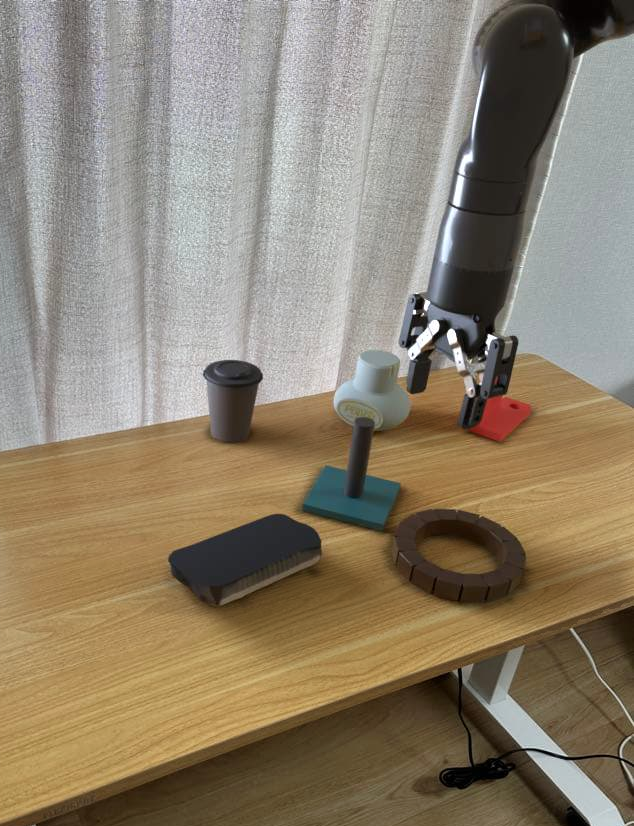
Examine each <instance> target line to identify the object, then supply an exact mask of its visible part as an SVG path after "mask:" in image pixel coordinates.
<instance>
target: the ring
mask: <svg viewBox="0 0 634 826" xmlns="http://www.w3.org/2000/svg"><path fill="white" fill-rule="evenodd" d="M436 535H454V536H458V537H460V538H461V537H462V538H466V539H469V540H472V541H474V542H477V543H479V544H480V545H483V546H485V547H486V548H487V549H488V550H489V551H490V552H491V553H492V554H493V555H494V556H495V557H496V558H497V560H498V562H499V564H500V565H499V566H497V568H495V569H493V570H490V571H486V572H482V573H461V572H457V571H454V570H450V569H447V568H444V567H441V566H440V565H438V564H436V563H433V562H432V561H430V560H429V559H427V558H426V557H425V556H424V555H423V554H422V553H421V552H420V551H419V550H418V548H417V545H416V544H417V543H418V542H420V541H421V540H422V539H423V538H426V537H431V536H436ZM390 554H391V557H392V560H393V564H394V566H395V567H396V569H397V570H398V571H399V572H400V573H401V575H402V576H403V577H404V578H405V579H406V580H407V581H408V582H410V583H411V584H412V585H414V586H416V587H417V588H419V589H421V590H422V591H424V592H426V593H429V594H432V595H433V596H436V597H438V598H439V597H440V598H443V599H446V600H451V601H454V602H458V601H459V602H460V603H484V602H485V603H488V602H491V601H492V602H493V601H495V600H498V599H502V598H505V597H506V596H509V594H511V593H512V592H513V591H514V590H515V589H516V588H518V586H519V585H520V583H521V580H522V579H523V575H524V572H525V568H526V563H527V553H526V551H525V549H524V547H523V545H522V543H521V541H520V540H519V538H518V537H517V536H516V535H515V534H513V532H511V531H510V530H509V529H507V527H505V526H504V525H503V526H502V524H500V523H498V522H496V521H494V520H492V519H490V518H487V517H485V516H483V515H481V514H479V513H475V512H470V511H466V510H462V509H455V508H434V509H433V508H429V509H425V510H421V511H416V512H413V513H411V514H410V515H408V516H407V517H405V518H404V519H403V520H401V521H400V522H399V523H398V524H397V527H396V530H395V533H394V534H393V540H392V545H391V547H390Z"/></svg>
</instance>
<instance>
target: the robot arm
mask: <svg viewBox="0 0 634 826" xmlns="http://www.w3.org/2000/svg"><path fill="white" fill-rule="evenodd" d="M633 34H634V0H507V1H506V2H504V3H503V4H502V5H500V6H499V7H498V8H496V9H495V10H494V11H493V12H492V13H491V14H490V15H488V16H487V18H486V19H485V20H484V22H483V23H482V24H481V26H480V27H479V29H478V31H477V33H476V36H475V38H474V41H473V44H472V49H471V66H472V70H473V73H474V76H475V77H476V80H477V82H478V89H477V94H476V100H475V104H474V107H473V113H472V118H471V123H470V126H469V127H470V128H469V131H468V133H467V135H466V136H465V137H464V138H463V139H462V142H461V143H460V145H459V148H458V151H457V153H456V158H455V162H454V167H453V171H452V176H451V181H450V186H449V190H448V196H447V201H446V206H445V208H444V211H443V215H442V217H441V219H440V220H441V221H440V224H439V228H438V233H437V238H436V243H435V248H434V252H433V253H434V254H433V258H432V263H431V268H430V273H429V278H428V283H427V289H426V291H424V292H417V293H412V294H410V295H408V298H407V303H406V306H405V311H404V315H403V320H402V323H401V324H402V325H401V329H400V333H399V337H398V346H399V348H401V349H405V350H406V351H407V358H408V359H409V364H408V370H407V375H406V388H405V389H406V390H405V391H406V392H407V393H409V394H411V395H416V394H421V393H424V392H425V391H426V389H427V386H428V381H429V376H430V371H431V366H432V362H433V360H432V359H431V358H430V357H432V356H433V355H435V353H436V352H437V354H441V355H444V356H446V357H447V358H448V359H449V360H450V361H452V362H453V363H455V366H456V371H457V374H458V375H459V376H461V377H462V379H463V383H464V388H465V392H466V393H465V394H464V395H463V399H462V403H461V408H460V412H459V416H458V419H457V426H458V427H459V428H460V429H462V430H467V429H471V428H472V427H475V426H476V425H477V424H479V423H480V422H481V421H482V417H483V413H484V409H485V406H486V402H487V399H489V398H493V397H498V396H502V395H503V396H505V395H507V394H508V391H509V387H510V383H511V378H512V373H513V369H514V365H515V360H516V357H517V351H518V347H519V338H518V337H517V335H508V336H504V335H502V334H500V333H498V332H496V318H497V317H498V315H499V314H500V312H501V311H502V310H503V308H504V307H505V305H506V300H507V296H508V293H509V289H510V285H511V281H512V277H513V273H514V269H515V266H516V262H517V258H518V254H519V250H520V246H521V242H522V238H523V233H524V223H525V216H526V211H527V208H528V204H529V199H530V196H531V191H532V187H533V184H534V179H535V176H536V171H537V167H538V160H539V156H540V153H541V151H542V149H543V147H544V145H545V143H546V141H547V139H548V136H549V134H550V131H551V128H552V126H553V123H554V122H555V118H556V116H557V114H558V111H559V109H560V106H561V104H562V101H563V98H564V95H565V92H566V89H567V86H568V84H569V80H570V75H571V73H572V72H571V71H572V66H573V62H574V60H575V59H576V58H578V57H580V56H581V55H583V54H584V53H586V52H588V51H590V50H592V49H593V48H595V47H597V46H599V45H601V44H603V43H605V42H609V41H614V40H619V39H623V38H627V37H629V36H631V35H633ZM413 330H414V332H413ZM412 332H413V334H412ZM476 357H477V363H470V362H469V361H472V360H473V359H476ZM476 374H477V377H478V381H479V383H477V378H476ZM497 376H498V378H497V383H495V380H496V377H497ZM503 396H502V397H503Z"/></svg>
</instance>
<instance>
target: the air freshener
mask: <svg viewBox="0 0 634 826" xmlns="http://www.w3.org/2000/svg"><path fill="white" fill-rule="evenodd" d="M400 368H401V360H400V358H399V357H398V356H397V355H396V354H395V353H392V352H390V351H387V350H382V349H368V350H365V351H362V352H361V353H360V354H358V356H357V361H356V366H355V373H354V378H351V379H348V380H347V381H345V382H344V383H342V384H341V385H340V386H339V387H338V388H337V390H336V391H335V393H334V396H333V407H334V410H335V412H336V414H337V416H339V418H340V419H341V420H342V421H343V422H344V423H346V424H347V425H349V426H352V428H353V427H354V420H355V419H356V418H359V417H367V418H370V419H372V420H374V422H375V426H374V432H382V431H387V430H391V429H393V428H396V427H397V426H399V425H401V424H402V423H403V422H405V420H406V419H407V418H408V416H409V414H410V413H411V412H410V411H411V408H412V407H411V404H412V403H411V399H410V397H409V395H408V392H407V391H406V390H405V389H404V388H403V387H402V386H400V385H399V384H398V378H399V372H400Z"/></svg>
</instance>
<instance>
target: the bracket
mask: <svg viewBox="0 0 634 826" xmlns="http://www.w3.org/2000/svg"><path fill="white" fill-rule="evenodd" d="M497 378H498V376H497V377H496V380H495V383H497ZM532 408H533V407H532V406H531V405H530V404H529V403H526V402H523V401H520V400H517V399H513V398H511V397H508V396H505V397H504V395H502V396H498V397H493V398H489V399H487V402H486V406H485V409H484V413H483V417H482V421H481V422H480V423H479V424H477V425H476V426H475V427H472V428H470V429H469V432H471V433H473V434H477V435H478V436H479V435H480V436H482V437H485V438H488V439H490V440H493V441H496V442H499V443H500V442H501V441H502V440H503V439H505V438H506V437H508V435H509V434H511V432H512V431H513V430H515V429H516V428H517V427H518V426H519V425H520V424H521V423H523V421H525V420H526V419H527V418H528V417H529V416H530V414H531V411H532Z"/></svg>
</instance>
